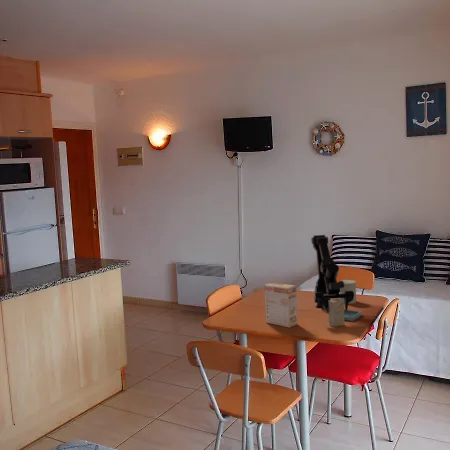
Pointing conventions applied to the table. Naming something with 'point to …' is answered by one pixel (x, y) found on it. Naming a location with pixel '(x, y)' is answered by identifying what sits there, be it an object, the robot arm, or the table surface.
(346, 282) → the can
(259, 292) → the table surface
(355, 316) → the tray
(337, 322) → the skincare box
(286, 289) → the coffeecake box
